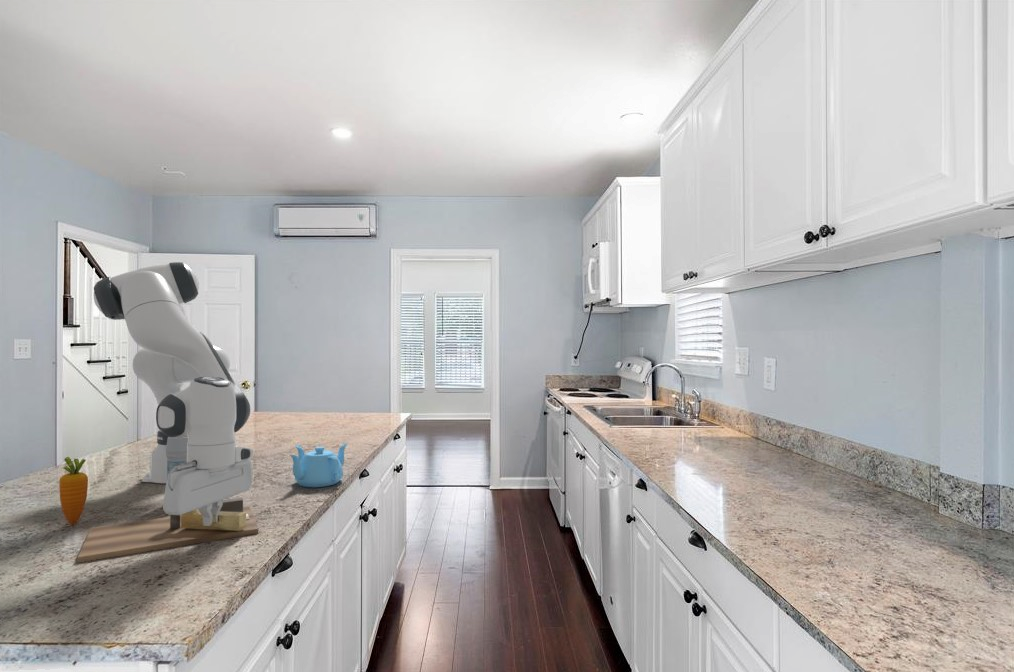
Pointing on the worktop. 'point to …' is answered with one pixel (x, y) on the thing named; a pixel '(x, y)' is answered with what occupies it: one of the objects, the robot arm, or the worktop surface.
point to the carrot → (73, 491)
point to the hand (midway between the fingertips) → (210, 524)
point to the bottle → (176, 452)
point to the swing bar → (225, 522)
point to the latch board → (157, 534)
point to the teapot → (318, 467)
